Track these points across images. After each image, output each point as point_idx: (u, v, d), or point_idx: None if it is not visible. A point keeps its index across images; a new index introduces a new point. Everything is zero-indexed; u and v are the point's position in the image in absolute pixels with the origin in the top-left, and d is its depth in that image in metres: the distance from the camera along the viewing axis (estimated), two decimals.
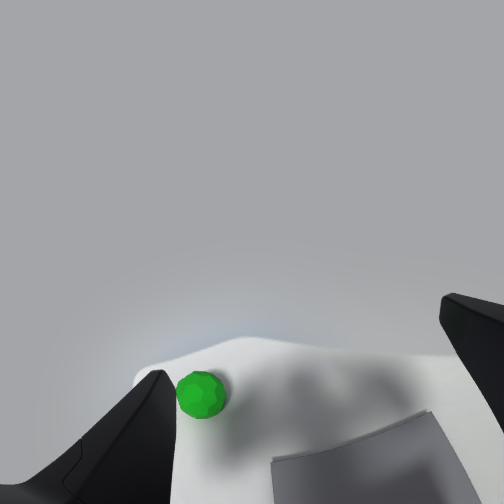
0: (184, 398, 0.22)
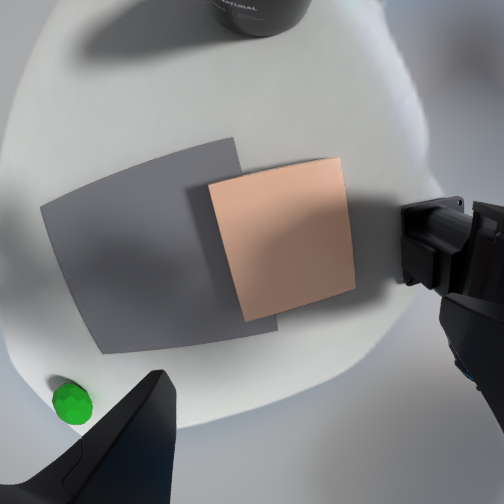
0: (81, 420, 0.21)
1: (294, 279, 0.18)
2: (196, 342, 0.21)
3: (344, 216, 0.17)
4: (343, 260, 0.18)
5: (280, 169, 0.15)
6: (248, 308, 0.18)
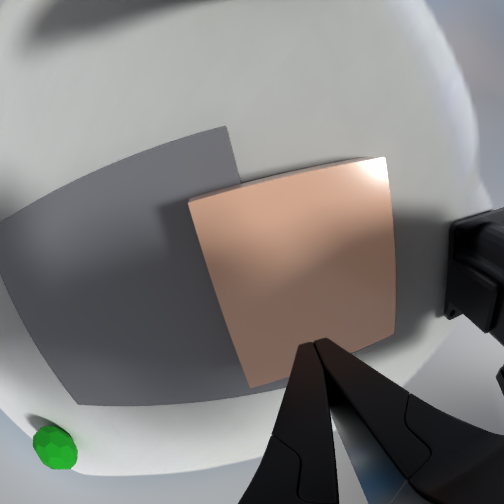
0: (66, 466, 0.15)
1: (318, 333, 0.12)
2: (187, 400, 0.15)
3: (389, 242, 0.11)
4: (383, 301, 0.12)
5: (302, 175, 0.10)
6: (254, 373, 0.12)
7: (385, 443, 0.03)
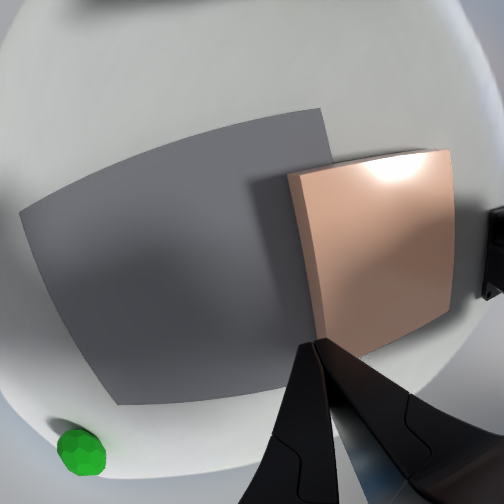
0: (95, 472, 0.15)
1: (395, 308, 0.12)
2: (250, 391, 0.15)
3: (451, 224, 0.11)
4: (444, 278, 0.12)
5: (393, 159, 0.10)
6: None
7: (385, 443, 0.03)
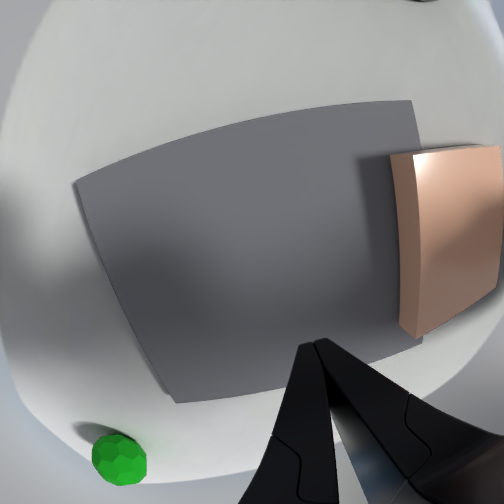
0: (137, 480, 0.15)
1: (464, 281, 0.12)
2: None
3: (501, 209, 0.11)
4: (495, 256, 0.12)
5: (468, 149, 0.09)
6: (423, 322, 0.12)
7: (385, 443, 0.03)
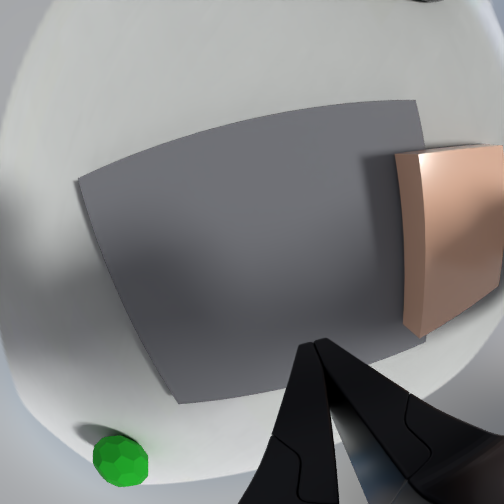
0: (138, 482, 0.15)
1: (468, 280, 0.12)
2: None
3: (503, 208, 0.11)
4: (497, 255, 0.12)
5: (472, 149, 0.09)
6: (427, 321, 0.12)
7: (385, 443, 0.03)
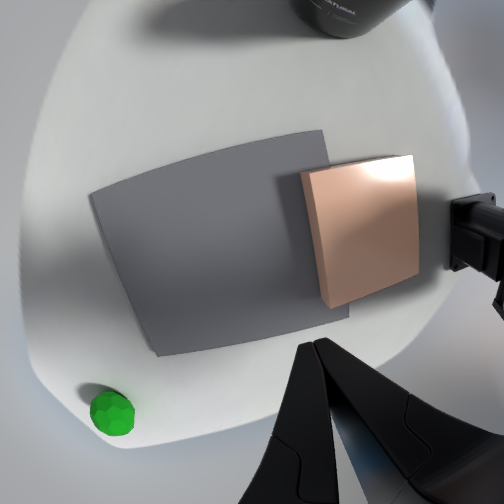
0: (125, 430, 0.21)
1: (375, 265, 0.18)
2: (269, 335, 0.21)
3: (414, 208, 0.17)
4: (411, 247, 0.18)
5: (369, 163, 0.15)
6: (335, 295, 0.18)
7: (385, 443, 0.03)
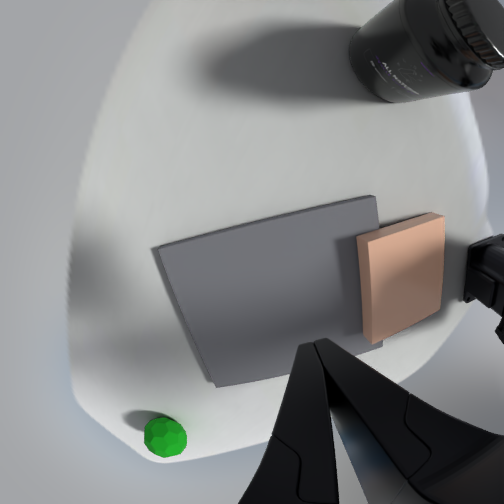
0: (180, 451, 0.23)
1: (408, 308, 0.20)
2: None
3: (441, 259, 0.19)
4: (436, 290, 0.20)
5: (412, 228, 0.18)
6: (376, 334, 0.20)
7: (385, 443, 0.03)
